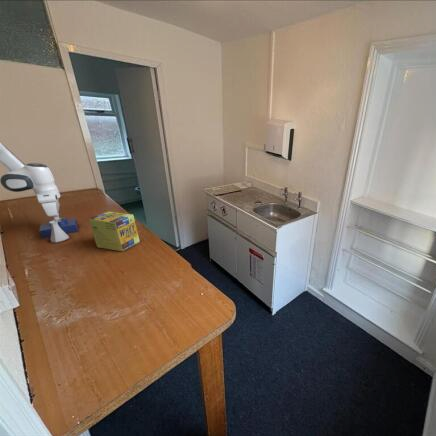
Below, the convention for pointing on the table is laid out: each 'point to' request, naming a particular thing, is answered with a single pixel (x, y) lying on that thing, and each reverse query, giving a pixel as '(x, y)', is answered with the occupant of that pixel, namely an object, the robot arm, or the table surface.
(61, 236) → the flask
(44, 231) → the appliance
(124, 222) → the protein box
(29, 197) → the table surface
